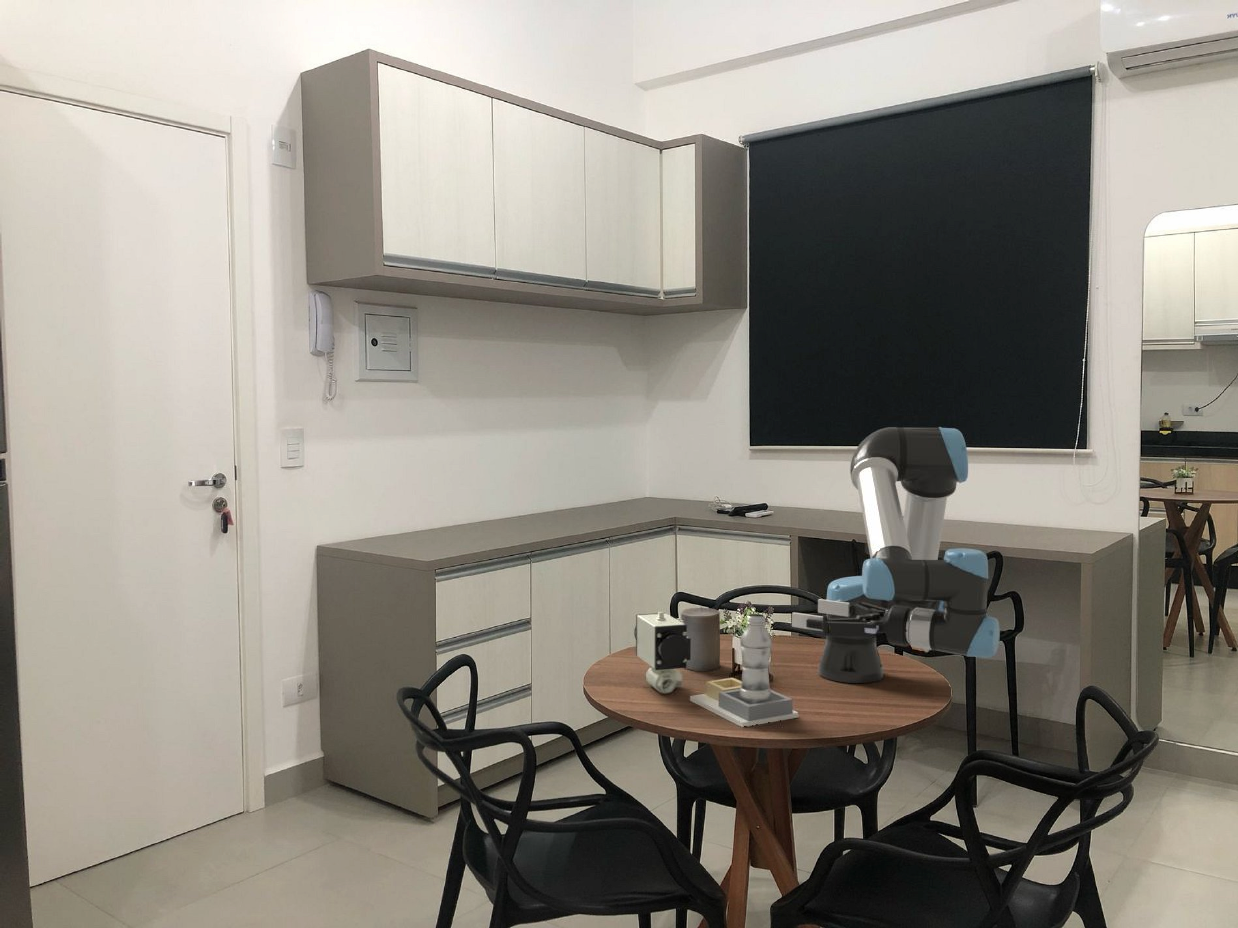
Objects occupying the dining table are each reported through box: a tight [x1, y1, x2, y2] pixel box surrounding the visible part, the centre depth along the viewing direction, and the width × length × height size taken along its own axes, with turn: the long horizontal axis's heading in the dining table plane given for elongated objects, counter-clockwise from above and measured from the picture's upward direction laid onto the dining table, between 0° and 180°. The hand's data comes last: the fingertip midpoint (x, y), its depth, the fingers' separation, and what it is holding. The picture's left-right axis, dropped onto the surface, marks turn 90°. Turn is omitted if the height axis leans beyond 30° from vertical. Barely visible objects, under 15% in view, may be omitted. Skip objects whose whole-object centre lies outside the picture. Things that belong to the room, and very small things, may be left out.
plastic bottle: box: [739, 613, 773, 705], centre depth 205 cm, size 6×7×20 cm
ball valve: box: [633, 611, 691, 695], centre depth 223 cm, size 18×8×18 cm, turn 18°
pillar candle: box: [680, 607, 721, 672], centre depth 243 cm, size 10×10×15 cm
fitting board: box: [689, 677, 799, 728], centre depth 210 cm, size 14×20×4 cm
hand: (805, 612), depth 198 cm, fingers open, 13 cm apart
